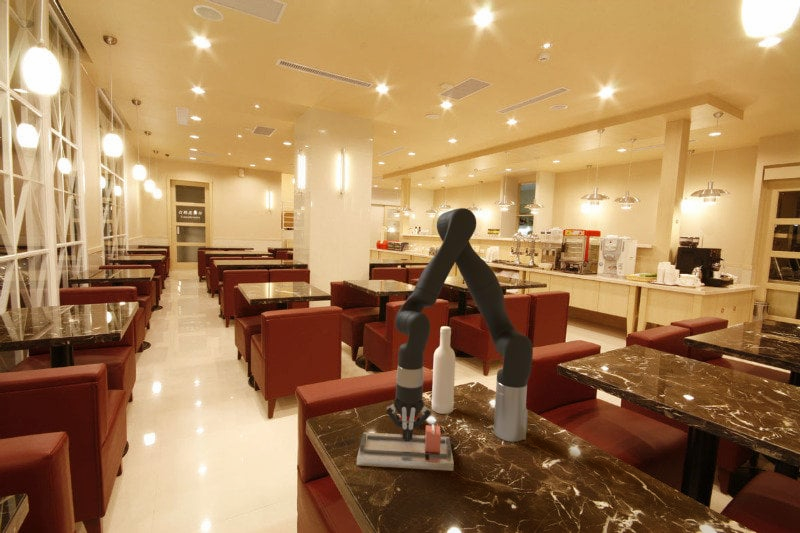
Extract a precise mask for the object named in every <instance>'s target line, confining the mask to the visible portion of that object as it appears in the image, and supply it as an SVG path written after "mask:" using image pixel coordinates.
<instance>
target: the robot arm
mask: <svg viewBox="0 0 800 533" xmlns="http://www.w3.org/2000/svg"><path fill="white" fill-rule="evenodd" d="M436 220H437V221H436V232H437V233H438V236H439V237H440V239H441V241H442V242H441V245H440V247H439V249H438V250H437V251H436V253H435V254H434V255H433V257H432V258H431V259H430V260H429V262H428V264H426V266H425V267H424V269H423V270H422V273H421V274H420V276H419V278H418V281H417V283H416V284H415V287H414V289H413V291H412V292H411V294H410V296H408V298H406V300H405V301H404V303H403V304H402V305H401V307H400V308H399V310H398V311H397V313H396V315H395V320H394V326H395V329H396V330H397V331H398V332H399V333H401V334H403V335H406V336H408V338H407V342H405V343H402V344H400V346H399V348H398V353H397V354H398V356H397V370H396V377H395V378H396V379H395V380H396V381H395V383H396V384H395V399H394V401H393V403H392V404H391V405H387V406H386V414H388V416H389V417H390V419H391V420H392V421H393V424H394V425H396V427H397V428H399V427H400V428H402V434H403V436H402V438H403V439H405V442H410V440H412V436H413V435H414V434H413V433H414V429H415V428H417V429H418V428H420V427H421V426H422V425H423V424H424V423H425V421H426V420H427V419H428V418H429V417H430V416H431V413H432V412H431V408H430V407H427V406H425V402H424V400H423V395H424V394H423V393H424V391H423V390H424V380H425V379H424V374H425V373H424V353H425V349H426V347H427V344H428V340H429V337H430V335H431V334H430V332H431V322H430V318H429V317H428V315H426V314H425V313H424V312H423V310H424V309H426V308H431V307H433V306H434V305H435V304H436V303H437V300H438V298H439V295H440V294H441V291H442V289H443V286H444V284H445V283H446V281H447V278H448V277H449V274H450V272H451V270H452V269H453V267H454V265H455V264H456V266H457V269H458V271H459V272H460V274H461V277H462V279H463V281H464V283H465V285H466V287H467V289H468V292H469V294H470V296H471V298H472V300H473V302H474V303H475V305H476V307H477V310H478V311H479V313H480V315H481V316H482V318H483V319H484V322H485V323H486V325H487V329H488V331H489V333H490V334H489V335H490V336H491V339H492V342H493V345H494V348H495V350H496V351H497V353H498V354H499V355H500V356H501V357H503V363H502V364H503V365H502V368H500V369H499V370H498V371H497V372H496V386H495V400H494V402H495V403H494V404H495V405H494V419H493V433H494V435H495V437H497V438H499V439H501V440H503V441H506V442H511V443H513V442H520V441H523V440H526V439H527V426H528V413H529V412H528V409H527V405H526V404H527V391H528V380H529V379H530V376H531V372H532V364H533V354H534V352H533V351H534V348H533V343H532V340H531V339H530V338H529V337H527V336H526V335H525V334H523V333H521V332H520V331H518V330H516V328H515V327H514V325H513V323H512V322H511V320H510V318H509V316H508V313H507V311H506V305H505V303H506V302H505V295H504V291H503V289H502V286H501V284H500V281H499V279H498V278H497V276H496V274H495V272H494V270H493V269H492V268H491V266H490V265H488V263H486V261H485V260H484V259H483V258H482V257H480V255H479V254H478V253H477V252H476V251H475V250H474V248H473V247H472V244H471V243H470V240H471V238H472V237H473V235H474V233H475V231H476V228H477V218H476V215H475V214H474V213H473V211H472V210H470V209H469V208H465V207H460V208H455V209H452V210H449V211H445V212H443V213H442V214H440V215H439V216H438V218H437V219H436ZM422 312H423V313H422ZM396 411H397V412H398V414H397V412H396ZM420 412H421V413H420ZM419 413H420V415H419ZM399 414H400V415H401V416H402V420H401V419H400V417H399ZM417 415H418V418H417V419H416V420H415V421H414V417H415V416H417ZM407 417H409V423H407ZM407 435H408V437H407Z"/></svg>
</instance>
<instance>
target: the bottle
mask: <svg viewBox="0 0 800 533" xmlns="http://www.w3.org/2000/svg"><path fill="white" fill-rule="evenodd" d="M439 332H440V333H439V336H440V337H439V346H438V347H437V348H436V349H435V350H434V353H433V365H432V366H433V367H432V389H431V390H432V392H431V410H432V411H433V412H435V413H437V414H441V415H442V414H443V415H445V414H450V413H452V412H453V411H454V406H455V405H454V403H455V402H454V396H455V379H456V378H455V376H456V375H455V374H456V373H455V372H456V354H455V351H454V349H453V348H452V347H451V335H452V327H450V326H447V325H445V326H441V327H440V331H439Z"/></svg>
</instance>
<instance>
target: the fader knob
mask: <svg viewBox="0 0 800 533" xmlns="http://www.w3.org/2000/svg"><path fill="white" fill-rule="evenodd" d="M424 436H425V448H426V452H437V453H440V443H441V437H442V433H441V426H440V425H435V424H433V423H432V424H431V425H427V424H426V425H425V435H424Z"/></svg>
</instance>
